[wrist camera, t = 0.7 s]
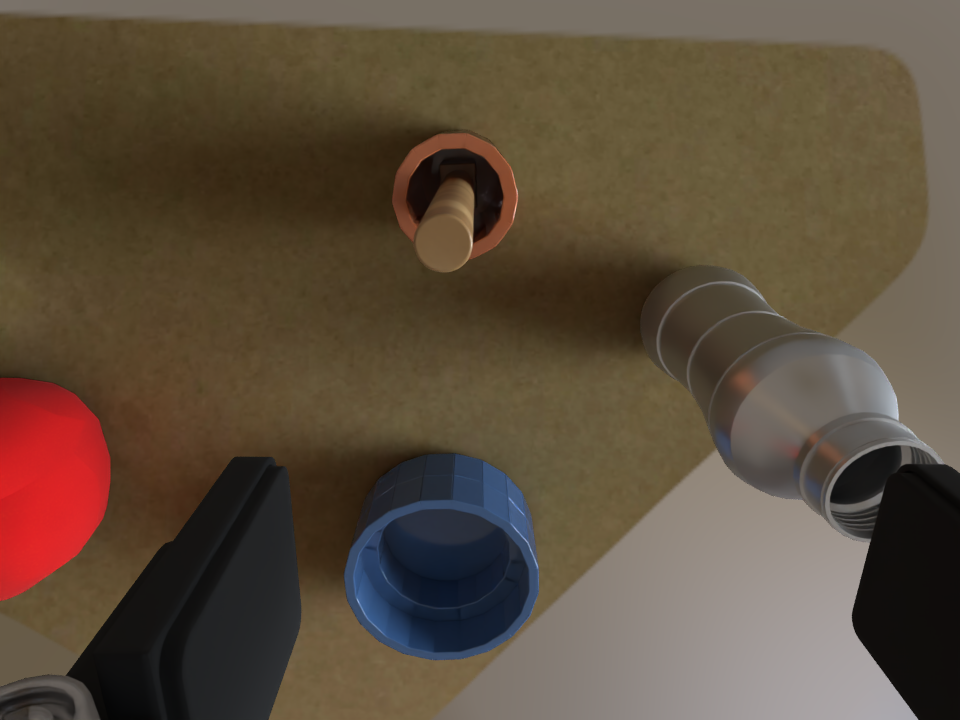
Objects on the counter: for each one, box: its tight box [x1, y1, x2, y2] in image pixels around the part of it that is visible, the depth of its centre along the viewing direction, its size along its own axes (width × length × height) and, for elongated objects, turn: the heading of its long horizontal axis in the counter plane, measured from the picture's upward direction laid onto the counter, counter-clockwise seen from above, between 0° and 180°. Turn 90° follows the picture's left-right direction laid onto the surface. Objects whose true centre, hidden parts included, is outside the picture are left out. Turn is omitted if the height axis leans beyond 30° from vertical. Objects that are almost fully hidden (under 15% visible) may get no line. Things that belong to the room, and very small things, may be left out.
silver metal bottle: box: [640, 265, 944, 542], centre depth 29 cm, size 6×7×20 cm
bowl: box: [344, 453, 539, 660], centre depth 41 cm, size 11×11×6 cm
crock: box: [392, 130, 518, 260], centre depth 32 cm, size 5×5×9 cm
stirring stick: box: [414, 159, 477, 272], centre depth 27 cm, size 2×2×19 cm
